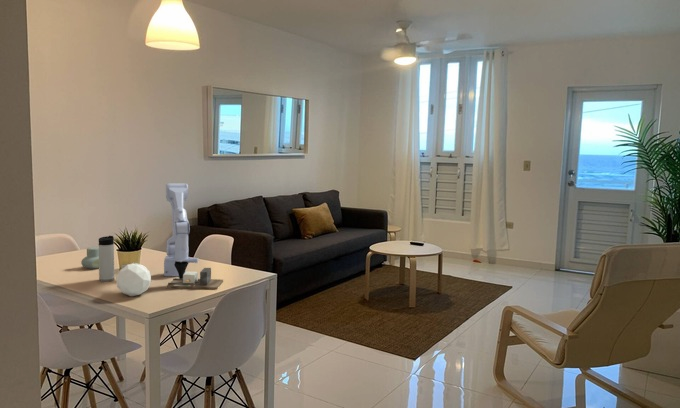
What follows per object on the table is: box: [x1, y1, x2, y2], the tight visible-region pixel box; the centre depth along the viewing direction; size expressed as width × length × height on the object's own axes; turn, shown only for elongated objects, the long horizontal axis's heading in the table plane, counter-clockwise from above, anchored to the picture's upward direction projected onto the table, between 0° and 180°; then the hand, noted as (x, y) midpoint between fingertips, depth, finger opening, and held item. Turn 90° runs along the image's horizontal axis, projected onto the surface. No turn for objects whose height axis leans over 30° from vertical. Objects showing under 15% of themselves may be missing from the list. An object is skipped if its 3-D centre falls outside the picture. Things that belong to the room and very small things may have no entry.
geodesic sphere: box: [115, 261, 152, 297], centre depth 210 cm, size 14×14×14 cm
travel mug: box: [98, 235, 115, 283], centre depth 230 cm, size 6×7×20 cm
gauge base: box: [165, 267, 224, 290], centre depth 228 cm, size 22×13×7 cm, turn 91°
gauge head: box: [183, 270, 199, 283], centre depth 226 cm, size 5×9×4 cm, turn 1°
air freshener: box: [80, 246, 99, 270], centre depth 252 cm, size 11×8×10 cm
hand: (181, 278), depth 228 cm, fingers closed
